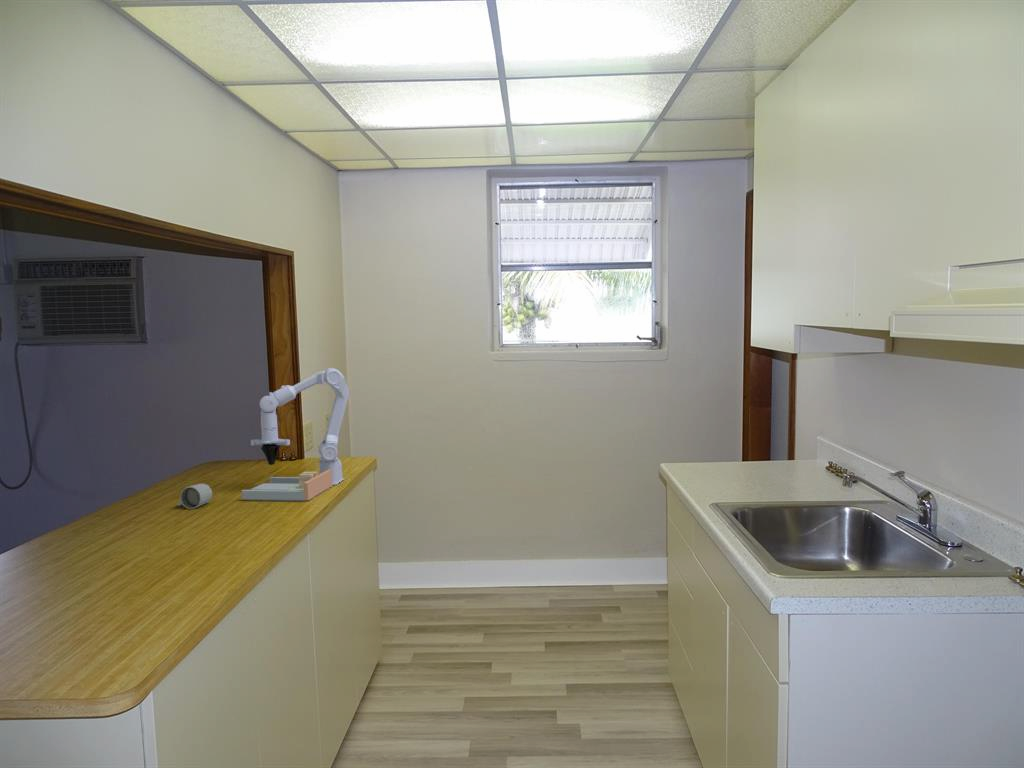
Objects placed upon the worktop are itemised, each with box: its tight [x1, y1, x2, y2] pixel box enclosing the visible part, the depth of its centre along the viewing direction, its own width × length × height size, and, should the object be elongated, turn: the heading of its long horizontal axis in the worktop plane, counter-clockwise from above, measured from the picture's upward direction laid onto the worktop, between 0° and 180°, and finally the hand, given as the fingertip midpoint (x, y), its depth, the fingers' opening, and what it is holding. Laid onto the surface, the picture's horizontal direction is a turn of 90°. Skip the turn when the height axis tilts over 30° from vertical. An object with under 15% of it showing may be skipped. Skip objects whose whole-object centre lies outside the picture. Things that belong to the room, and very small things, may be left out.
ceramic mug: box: [177, 483, 213, 510], centre depth 233 cm, size 11×8×8 cm
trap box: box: [241, 470, 334, 502], centre depth 247 cm, size 21×24×6 cm
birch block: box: [298, 471, 319, 489], centre depth 245 cm, size 5×5×5 cm
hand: (271, 464), depth 253 cm, fingers closed
